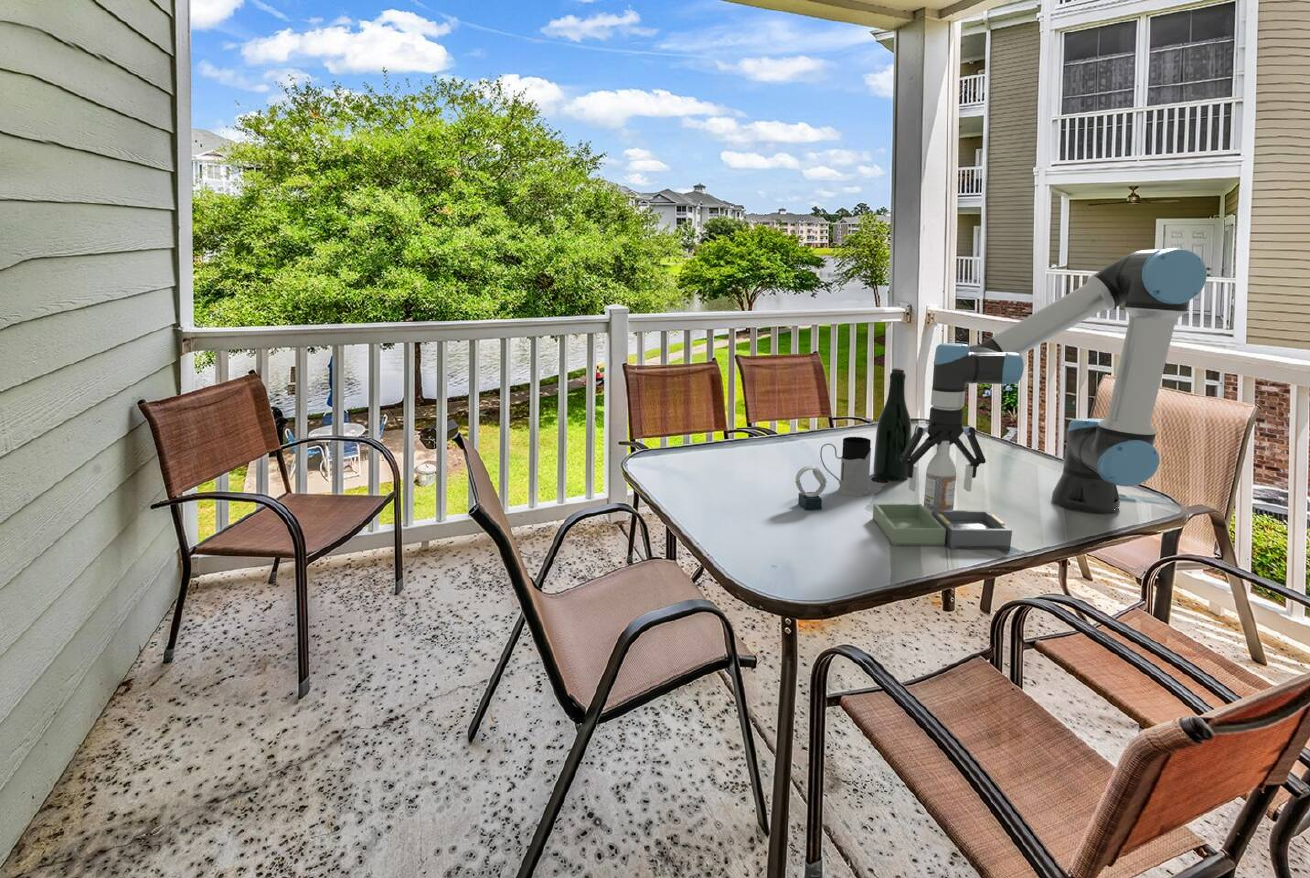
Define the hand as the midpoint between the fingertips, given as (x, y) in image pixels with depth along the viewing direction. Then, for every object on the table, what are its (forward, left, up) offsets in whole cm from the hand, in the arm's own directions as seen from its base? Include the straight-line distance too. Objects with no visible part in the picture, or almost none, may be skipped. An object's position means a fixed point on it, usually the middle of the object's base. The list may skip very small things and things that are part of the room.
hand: (939, 490), depth 171 cm
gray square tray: (-2, +15, -7) cm, 17 cm away
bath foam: (0, 0, -7) cm, 7 cm away
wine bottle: (+2, -35, -7) cm, 36 cm away
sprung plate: (-2, +15, -5) cm, 16 cm away
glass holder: (+19, -21, -7) cm, 29 cm away
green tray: (+11, +11, -7) cm, 17 cm away
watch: (+31, -7, -7) cm, 33 cm away
